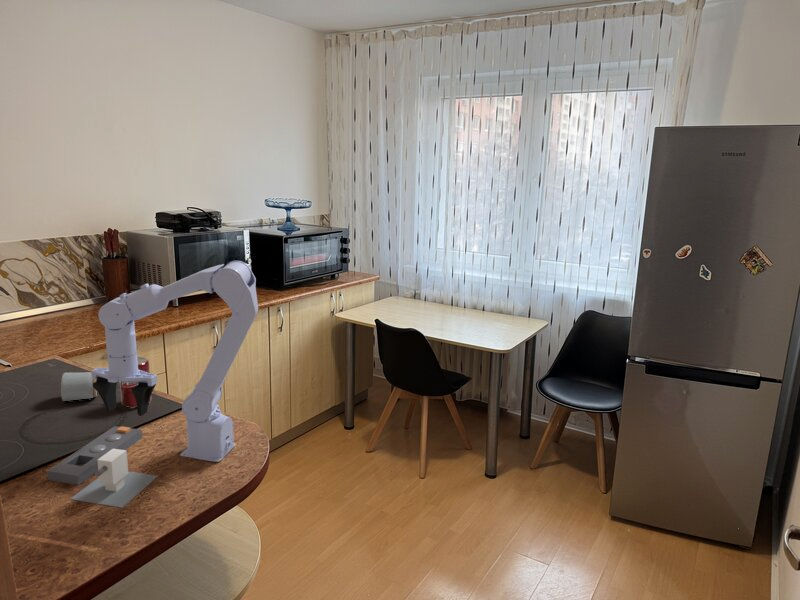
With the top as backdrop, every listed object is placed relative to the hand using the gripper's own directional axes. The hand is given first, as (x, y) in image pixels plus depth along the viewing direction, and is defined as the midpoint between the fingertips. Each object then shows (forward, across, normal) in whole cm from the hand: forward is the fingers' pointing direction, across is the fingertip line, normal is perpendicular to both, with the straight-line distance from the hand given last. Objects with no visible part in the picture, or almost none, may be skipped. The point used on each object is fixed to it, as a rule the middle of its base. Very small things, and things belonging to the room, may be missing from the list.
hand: (127, 411), depth 122 cm
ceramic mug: (+10, -30, +22) cm, 39 cm away
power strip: (+9, -4, -5) cm, 11 cm away
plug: (+9, +7, -14) cm, 18 cm away
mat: (+9, +7, -14) cm, 18 cm away
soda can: (+10, -14, +22) cm, 28 cm away
